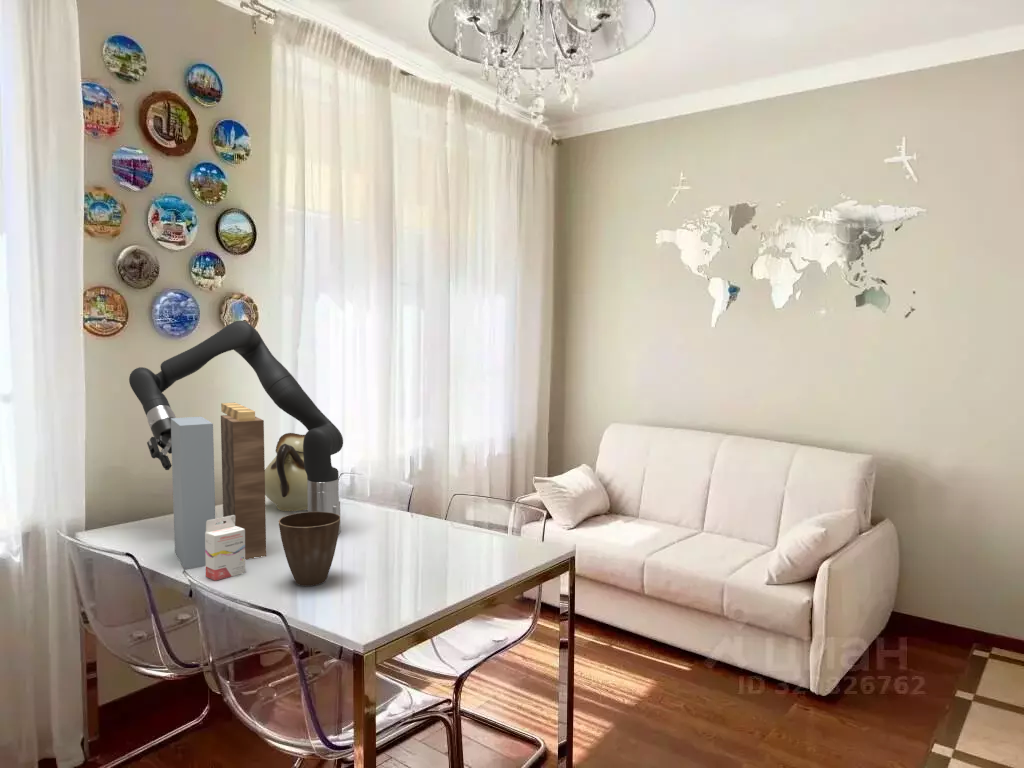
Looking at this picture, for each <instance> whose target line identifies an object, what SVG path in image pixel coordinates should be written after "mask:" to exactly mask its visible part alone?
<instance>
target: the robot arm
mask: <svg viewBox="0 0 1024 768" xmlns="http://www.w3.org/2000/svg"><path fill="white" fill-rule="evenodd" d="M231 351H235V352H236V353H237V354H238V355H239V356H241V357H242V358H243V359H244V360H245V361H246V362H247V364H249V367H251V368H252V369H253V370H254V372H255V374H256V376H257V378H258V380H259V382H260V384H261V386H262V388H263V390H264V391H265V392H266V393H267V395H268V396H269V398H270V399H271V400H272V401H273V403H274V404H275V405H276V406H277V407H278V408H279V409H280V410H282V411H283V412H284V413H286V414H288V415H289V416H291V417H293V418H294V419H295V420H297V421H299V422H300V423H301V424H302V425H303V426H304V427H305V428H306V429H307V432H306V433H305V434H304V435H305V437H304V441H303V455H304V468H305V471H306V474H307V493H308V509H307V512H329V513H334V514H337V515H339V516H340V517H341V501H339V500H340V498H339V497H340V495H339V493H340V491H339V482H340V481H339V478H340V477H339V469H338V468H336V467H335V466H333V464H332V457H331V456H333V455H336V454H337V453H339V452H340V451H341V450H342V449H343V446H344V438H343V434H342V433H341V431H340V430H339V428H338V427H337V426H336V425H335V423H333V422H332V421H331V420H330V419H329V418H328V417H327V416H326V415H325V414H324V413H323V412H322V410H321V409H320V408H318V406H317V405H316V404H315V403H314V401H313V400H312V399H311V397H310V396H309V395H308V394H307V393H306V391H305V390H304V389H303V388H302V386H301V385H300V384H299V382H298V381H297V380H296V378H295V377H294V376H293V375H292V373H290V371H289V370H288V369H287V368H286V367H285V366H284V365H283V364H282V363H281V362H280V361H279V360H278V359H277V358H276V357H275V356H274V355H273V354H272V352H271V351H270V349H269V348H268V347H267V344H266V343H265V341H264V340H263V338H262V337H261V335H260V333H259V332H258V330H257V329H255V327H254V326H252V325H251V324H250V323H248V322H246V321H245V320H244V321H243V320H235V321H233V322H231V323H229V324H228V325H226V326H225V327H223V328H221V329H220V330H219V331H216V332H215V333H214V334H212V336H210V337H207V338H206V339H205V340H204V341H201V342H200V343H198V344H197V345H195V346H193V347H190V348H189V349H187V350H185V351H183V352H181V353H178V354H176V355H174V356H172V357H169V358H168V359H166V360H164V361H162V362H161V364H160V365H159V366H160V367H159V368H160V371H159V372H157V373H154V372H153V371H152V370H150V369H149V368H147V367H142V366H141V367H140V366H139V367H136V368H135V369H133V370H132V371H131V372H130V374H129V379H128V380H129V387H130V388H131V389H132V392H133V393H134V395H135V397H136V398H137V400H138V401H139V403H140V405H142V408H143V411H144V414H145V415H146V419H147V423H148V425H149V429H150V431H151V433H152V435H153V436H151V437H150V438H149V439H148V441H147V442H146V444H147V447H148V450H149V453H150V456H151V458H152V459H158V460H159V461H160V464H161V465H162V468H163V469H164V470H165V471H169V470H170V469H172V462H171V460H170V459H169V458H170V457H169V455H167V454H171V455H172V444H171V418H177V416H176V414H175V412H174V411H173V409H172V407H171V405H170V403H169V401H168V399H167V396H166V395H165V394H164V393H163V392H165V391H166V390H167V389H169V388H170V387H172V386H173V385H174V384H175V383H176V382H177V381H179V380H181V379H183V378H185V377H188V376H190V375H193V374H194V373H195V372H198V371H199V370H200V369H201V368H203V367H205V365H207V363H208V362H210V361H211V360H212V359H215V357H217V356H219V355H221V354H224V353H227V352H231ZM160 448H161V450H160ZM341 523H342V522H341V520H340V525H339V533H338V536H339V534H340V533H341V528H342V527H341Z"/></svg>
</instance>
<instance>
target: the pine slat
mask: <svg viewBox="0 0 1024 768" xmlns="http://www.w3.org/2000/svg"><path fill="white" fill-rule="evenodd" d="M220 406H221V407H220V409H221V411H220V412H222V413H224V414H225V415H229V416H231V417H233V418H234V419H236V420H238V421H255V417H256V410H253V409H250V408H248V407H246V406H245V405H241V404H239V403H238V402H221V404H220Z"/></svg>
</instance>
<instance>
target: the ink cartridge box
mask: <svg viewBox="0 0 1024 768" xmlns="http://www.w3.org/2000/svg"><path fill="white" fill-rule="evenodd" d="M223 521H226V523H224V524H223V523H220V522H223ZM217 523H220V524H217ZM205 561H206V566H205V577H206V578H208V579H211V580H212V581H214V582H215V581H220V580H224V579H228V578H230V577H234V576H238V575H242V573H243V574H246V560H245V529H243V528H240V527H237V526H235V515H231V516H226V517H223V516H222V517H217V518H216V517H215V519H212V520H207V521H206V532H205Z"/></svg>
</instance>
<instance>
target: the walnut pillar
mask: <svg viewBox="0 0 1024 768" xmlns="http://www.w3.org/2000/svg"><path fill="white" fill-rule="evenodd" d="M264 424H265V422H264V419H261V418H260V417H257V416H255V421H238V420H236V419H234V418H233V417H231V416H229V415H227V414H225V415H224V414H223V415H222V414H221V415H220V440H221V441H220V443H221V445H220V449H221V483H222V484H221V485H222V489H221V491H222V517H226V516H231V515H235V526H237V527H240V528H243V529H245V559H246V560H250V559H249V558H252V559H255V558H254V557H259V558H262V557H261V556H265V557H267V525H266V523H267V522H266V520H267V518H266V514H267V513H266V495H265V469H266V468H265V425H264ZM224 523H226V521H222V524H224Z"/></svg>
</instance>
